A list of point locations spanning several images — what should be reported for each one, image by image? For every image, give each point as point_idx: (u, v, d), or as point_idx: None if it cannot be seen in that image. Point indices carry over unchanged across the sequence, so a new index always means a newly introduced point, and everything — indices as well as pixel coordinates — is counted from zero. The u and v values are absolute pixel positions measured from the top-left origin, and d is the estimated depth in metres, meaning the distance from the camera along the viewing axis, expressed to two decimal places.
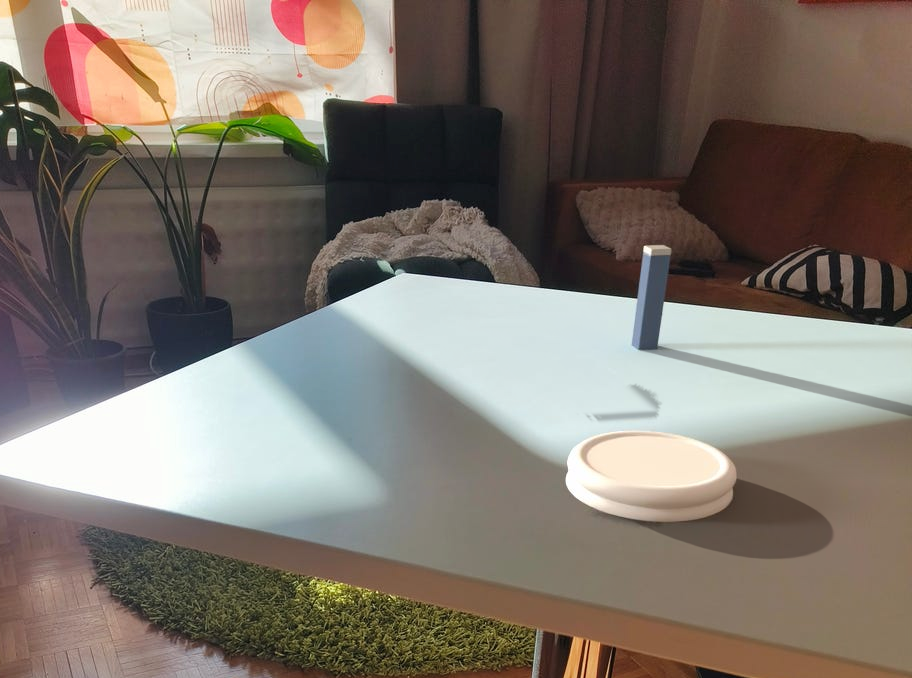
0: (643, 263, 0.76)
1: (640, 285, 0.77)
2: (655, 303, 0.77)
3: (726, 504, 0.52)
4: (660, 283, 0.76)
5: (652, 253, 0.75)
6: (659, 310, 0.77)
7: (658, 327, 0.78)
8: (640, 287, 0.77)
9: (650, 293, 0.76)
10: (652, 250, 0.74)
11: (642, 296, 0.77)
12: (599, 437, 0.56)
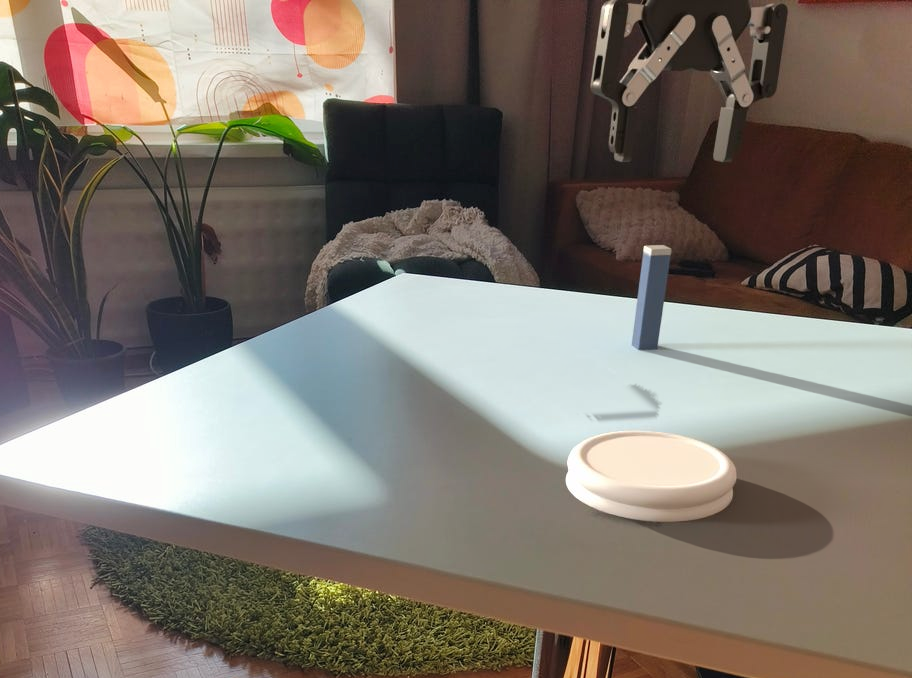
0: (643, 263, 0.76)
1: (640, 285, 0.77)
2: (655, 303, 0.77)
3: (726, 504, 0.52)
4: (660, 283, 0.76)
5: (652, 253, 0.75)
6: (659, 310, 0.77)
7: (658, 327, 0.78)
8: (640, 287, 0.77)
9: (650, 293, 0.76)
10: (652, 250, 0.74)
11: (642, 296, 0.77)
12: (599, 437, 0.56)
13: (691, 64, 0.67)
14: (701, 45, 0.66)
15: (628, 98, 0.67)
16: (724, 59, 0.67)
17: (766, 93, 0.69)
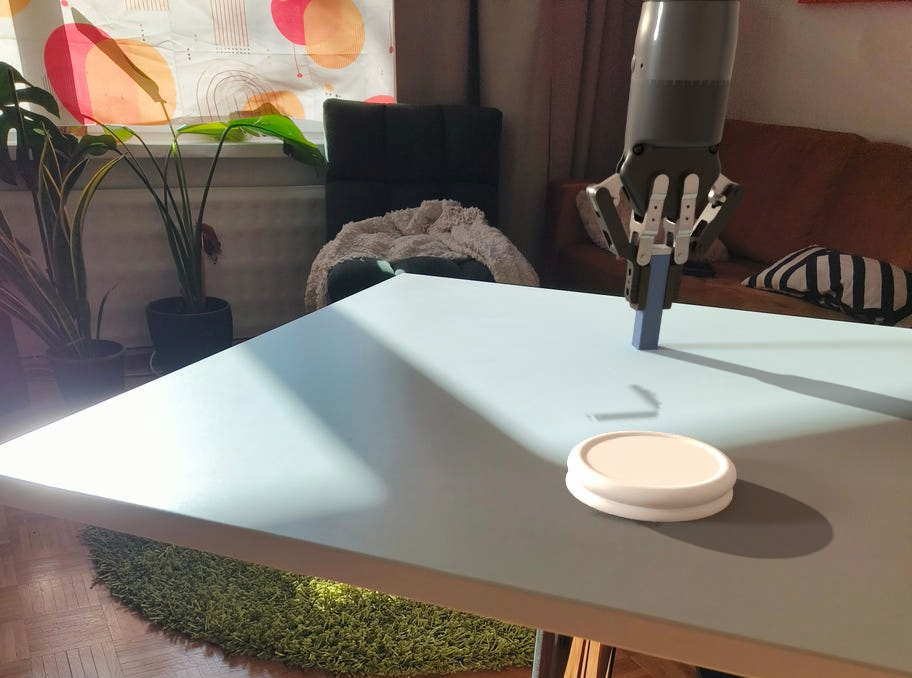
0: None
1: None
2: (655, 302, 0.77)
3: (726, 504, 0.52)
4: (660, 283, 0.76)
5: (652, 252, 0.75)
6: (659, 309, 0.77)
7: (658, 326, 0.78)
8: None
9: (650, 292, 0.76)
10: (652, 249, 0.74)
11: None
12: (599, 437, 0.56)
13: (666, 214, 0.73)
14: (675, 197, 0.72)
15: (642, 259, 0.74)
16: (681, 212, 0.72)
17: (699, 251, 0.75)
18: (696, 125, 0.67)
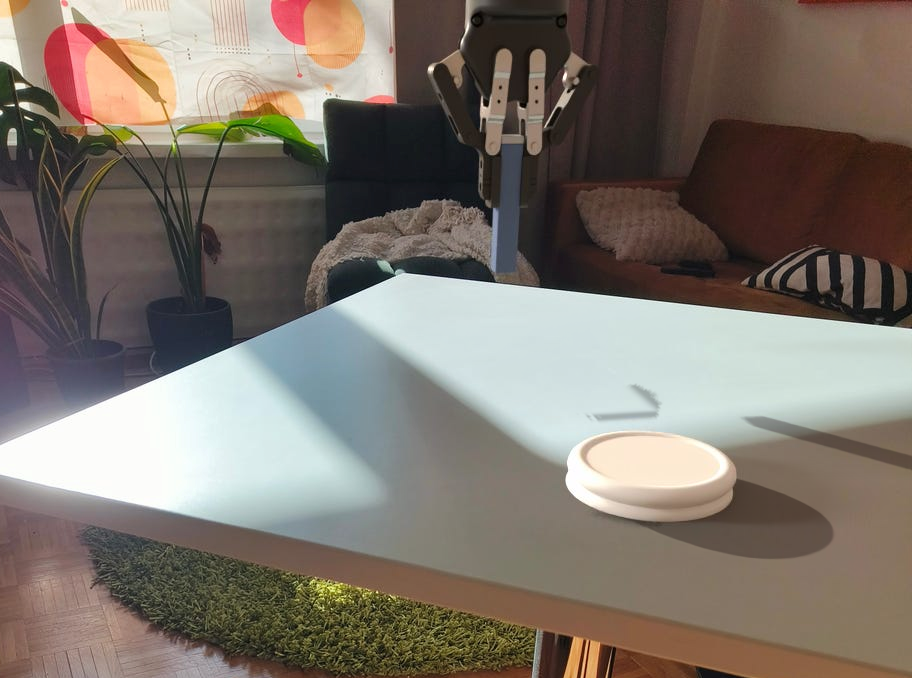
0: None
1: None
2: (510, 198, 0.71)
3: (726, 504, 0.52)
4: (514, 176, 0.70)
5: (503, 141, 0.69)
6: (516, 207, 0.72)
7: (516, 226, 0.72)
8: None
9: (504, 187, 0.71)
10: (502, 137, 0.69)
11: None
12: (599, 437, 0.56)
13: (514, 96, 0.67)
14: (522, 77, 0.67)
15: (491, 147, 0.69)
16: (529, 94, 0.67)
17: (554, 141, 0.69)
18: None
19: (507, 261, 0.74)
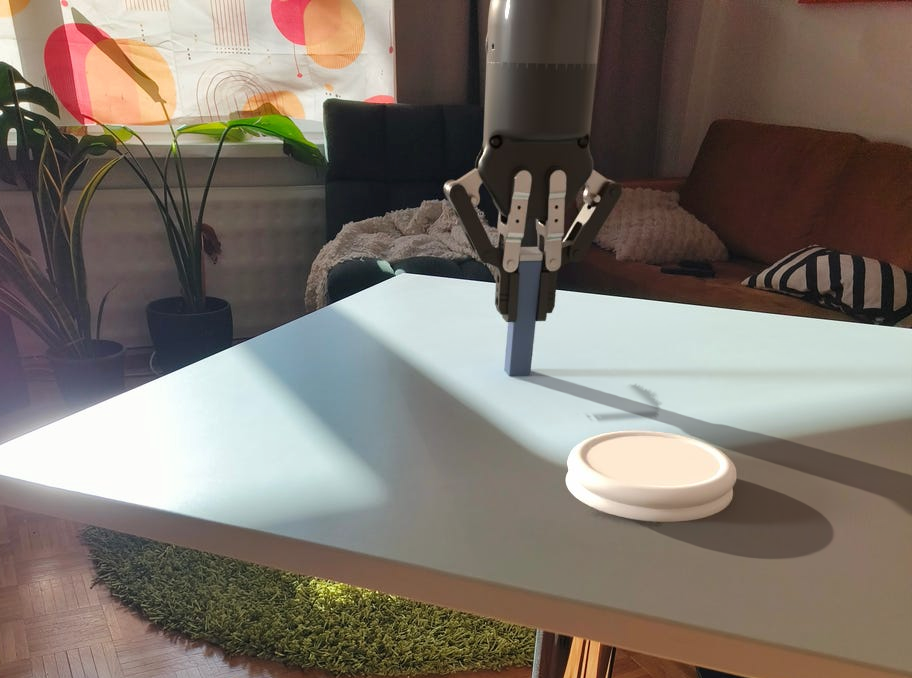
0: None
1: None
2: (527, 312, 0.69)
3: (726, 504, 0.52)
4: (531, 291, 0.68)
5: (521, 258, 0.67)
6: (532, 320, 0.70)
7: (531, 338, 0.71)
8: None
9: (520, 301, 0.69)
10: (520, 255, 0.67)
11: None
12: (599, 437, 0.56)
13: (533, 215, 0.65)
14: (542, 196, 0.64)
15: (509, 265, 0.66)
16: (549, 213, 0.65)
17: (574, 257, 0.67)
18: (554, 115, 0.59)
19: (521, 370, 0.72)
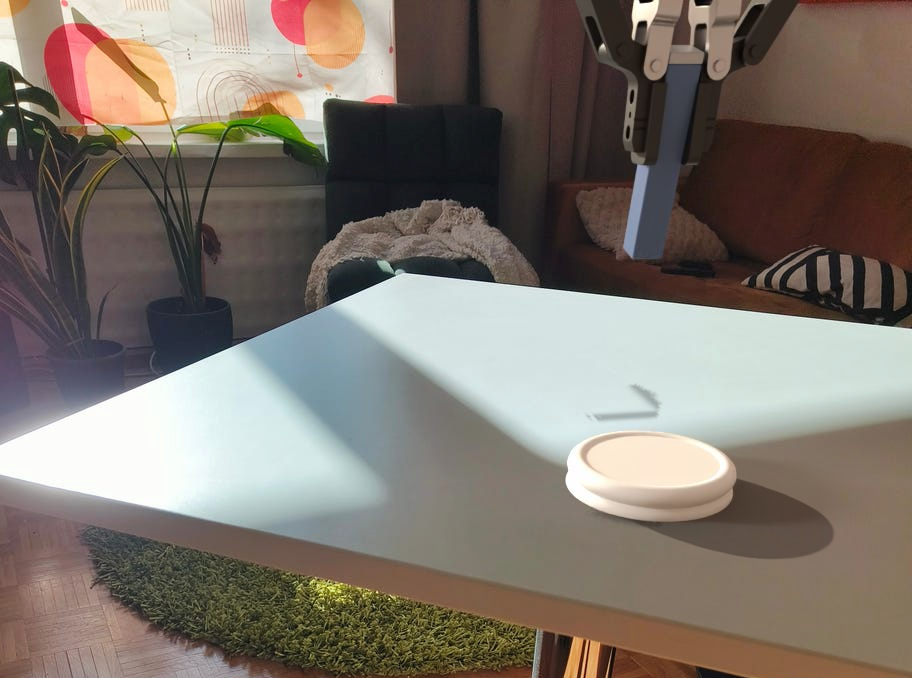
0: None
1: None
2: (670, 150, 0.47)
3: (726, 504, 0.52)
4: (681, 116, 0.46)
5: (671, 59, 0.44)
6: (676, 162, 0.47)
7: (672, 192, 0.48)
8: None
9: (663, 132, 0.46)
10: (671, 54, 0.44)
11: None
12: (599, 437, 0.56)
13: None
14: None
15: (653, 68, 0.44)
16: None
17: (750, 58, 0.44)
18: None
19: (652, 242, 0.50)
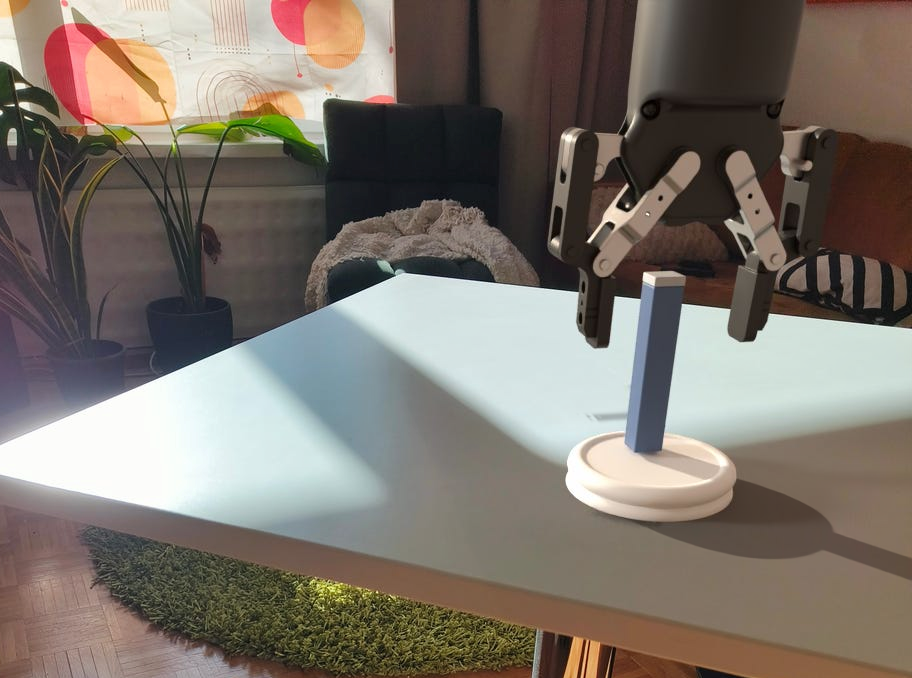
0: (643, 299, 0.50)
1: (639, 331, 0.51)
2: (662, 358, 0.51)
3: (726, 504, 0.52)
4: (669, 329, 0.50)
5: (656, 283, 0.49)
6: (668, 368, 0.51)
7: (667, 393, 0.52)
8: (639, 334, 0.51)
9: (654, 343, 0.50)
10: (656, 279, 0.49)
11: (642, 347, 0.51)
12: (599, 437, 0.56)
13: (695, 216, 0.45)
14: (709, 190, 0.45)
15: (602, 267, 0.46)
16: (744, 210, 0.45)
17: (805, 251, 0.47)
18: (749, 66, 0.39)
19: (651, 437, 0.53)
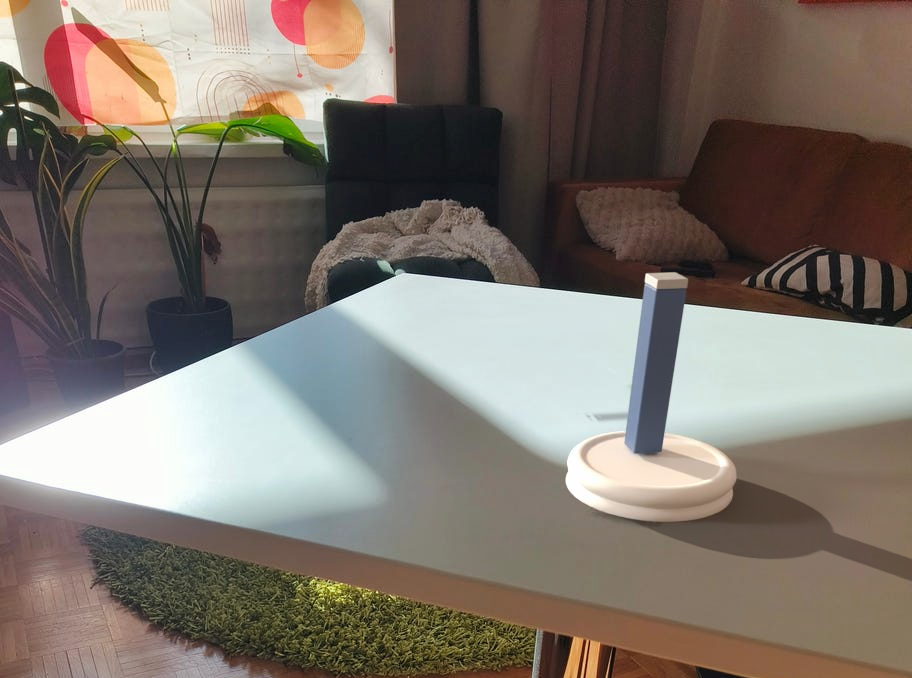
0: (645, 300, 0.50)
1: (640, 333, 0.51)
2: (663, 360, 0.51)
3: (726, 504, 0.52)
4: (671, 331, 0.50)
5: (658, 286, 0.49)
6: (669, 370, 0.51)
7: (667, 394, 0.52)
8: (640, 335, 0.51)
9: (655, 345, 0.50)
10: (658, 281, 0.48)
11: (643, 349, 0.51)
12: (599, 437, 0.56)
13: None
14: None
15: None
16: None
17: None
18: None
19: (651, 438, 0.53)
